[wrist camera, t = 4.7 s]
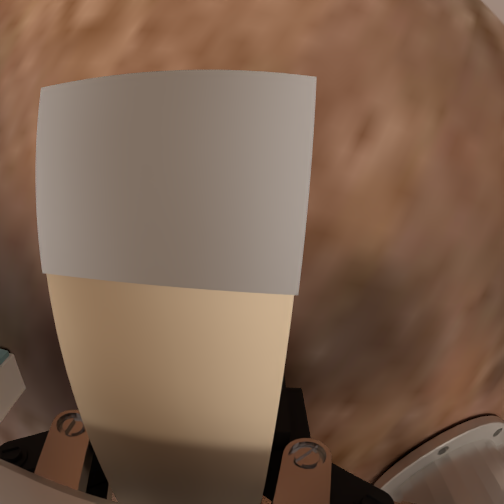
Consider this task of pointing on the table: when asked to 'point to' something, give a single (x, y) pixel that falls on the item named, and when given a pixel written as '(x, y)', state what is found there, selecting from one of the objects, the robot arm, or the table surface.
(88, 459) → the robot arm
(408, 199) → the table surface
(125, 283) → the grey-capped beige stick
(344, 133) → the table surface
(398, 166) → the table surface
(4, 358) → the white and teal block
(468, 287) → the table surface
